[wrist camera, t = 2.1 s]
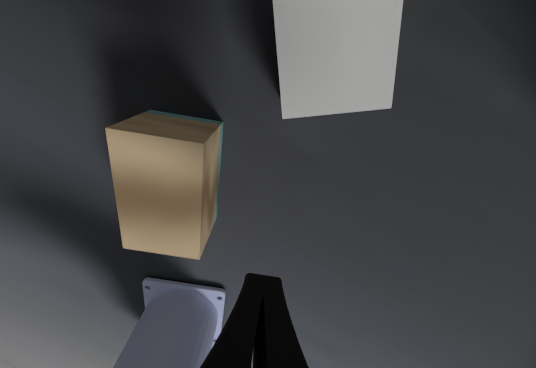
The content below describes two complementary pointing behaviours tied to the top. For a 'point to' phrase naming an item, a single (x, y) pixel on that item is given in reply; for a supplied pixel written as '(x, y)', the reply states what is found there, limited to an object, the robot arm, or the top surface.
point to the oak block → (166, 181)
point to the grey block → (336, 55)
